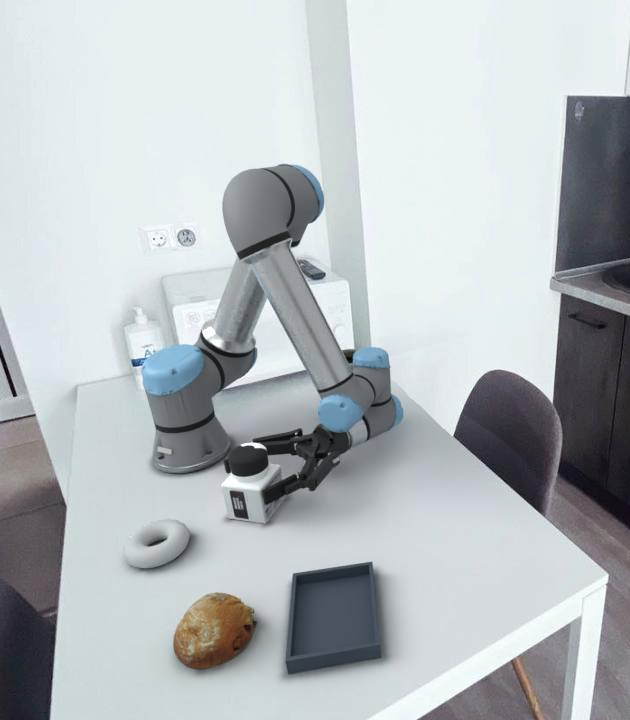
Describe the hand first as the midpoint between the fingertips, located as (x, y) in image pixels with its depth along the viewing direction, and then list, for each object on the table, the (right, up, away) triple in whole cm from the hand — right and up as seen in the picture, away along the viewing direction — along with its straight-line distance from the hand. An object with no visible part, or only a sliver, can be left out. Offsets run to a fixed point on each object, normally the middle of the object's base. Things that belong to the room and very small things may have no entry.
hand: (243, 482), depth 98 cm
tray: (+20, -16, -19) cm, 32 cm away
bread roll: (+5, -17, -21) cm, 28 cm away
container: (+1, -6, +4) cm, 7 cm away
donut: (-12, -10, -6) cm, 17 cm away
